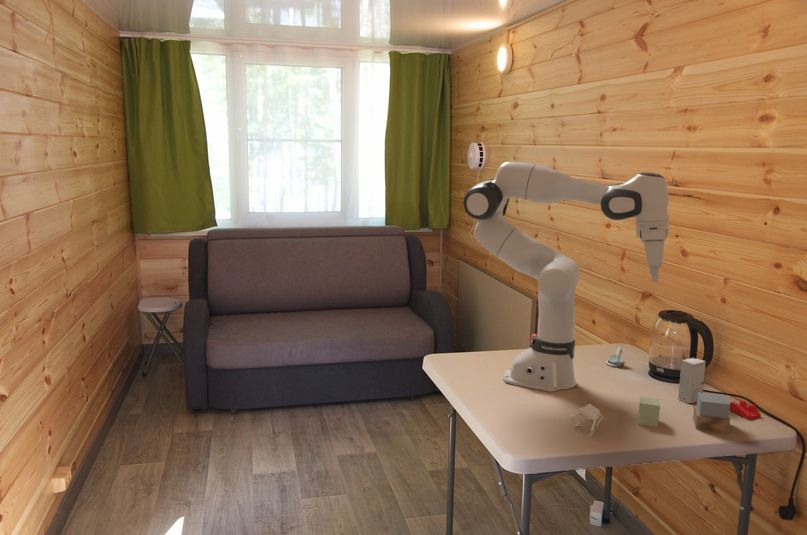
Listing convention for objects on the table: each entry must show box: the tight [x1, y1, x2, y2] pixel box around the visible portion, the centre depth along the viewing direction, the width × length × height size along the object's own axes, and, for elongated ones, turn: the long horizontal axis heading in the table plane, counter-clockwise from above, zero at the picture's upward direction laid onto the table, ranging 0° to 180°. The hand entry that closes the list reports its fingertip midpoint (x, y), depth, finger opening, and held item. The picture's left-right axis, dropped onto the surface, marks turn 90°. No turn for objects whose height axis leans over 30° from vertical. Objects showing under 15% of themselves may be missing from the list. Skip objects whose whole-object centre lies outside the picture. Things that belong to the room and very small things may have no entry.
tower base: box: [692, 404, 731, 434], centre depth 182 cm, size 8×8×4 cm
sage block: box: [637, 396, 661, 428], centre depth 183 cm, size 5×5×6 cm
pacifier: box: [605, 346, 627, 368], centre depth 231 cm, size 7×6×6 cm
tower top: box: [696, 392, 730, 419], centre depth 182 cm, size 7×7×4 cm
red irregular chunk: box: [729, 399, 762, 420], centre depth 191 cm, size 6×5×3 cm
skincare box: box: [677, 357, 707, 404], centre depth 200 cm, size 6×4×12 cm
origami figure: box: [569, 403, 604, 437], centre depth 178 cm, size 12×8×5 cm
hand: (654, 277), depth 195 cm, fingers open, 8 cm apart
